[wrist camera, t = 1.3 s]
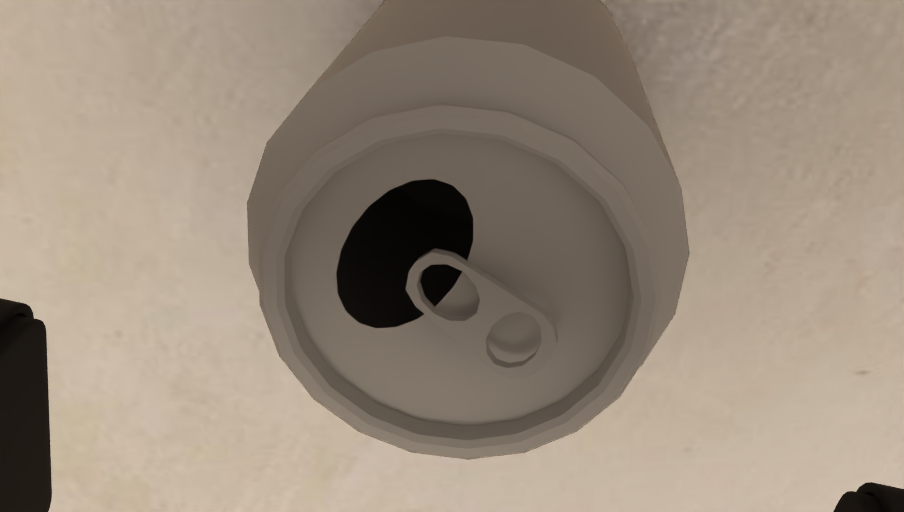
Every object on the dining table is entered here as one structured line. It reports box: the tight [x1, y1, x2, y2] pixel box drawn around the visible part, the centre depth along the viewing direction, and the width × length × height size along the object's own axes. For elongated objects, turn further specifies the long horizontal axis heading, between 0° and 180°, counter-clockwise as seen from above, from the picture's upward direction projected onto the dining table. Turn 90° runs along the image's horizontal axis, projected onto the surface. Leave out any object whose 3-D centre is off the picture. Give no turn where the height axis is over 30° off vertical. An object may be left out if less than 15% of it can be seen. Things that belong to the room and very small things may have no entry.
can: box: [247, 0, 689, 460], centre depth 18 cm, size 8×8×12 cm
